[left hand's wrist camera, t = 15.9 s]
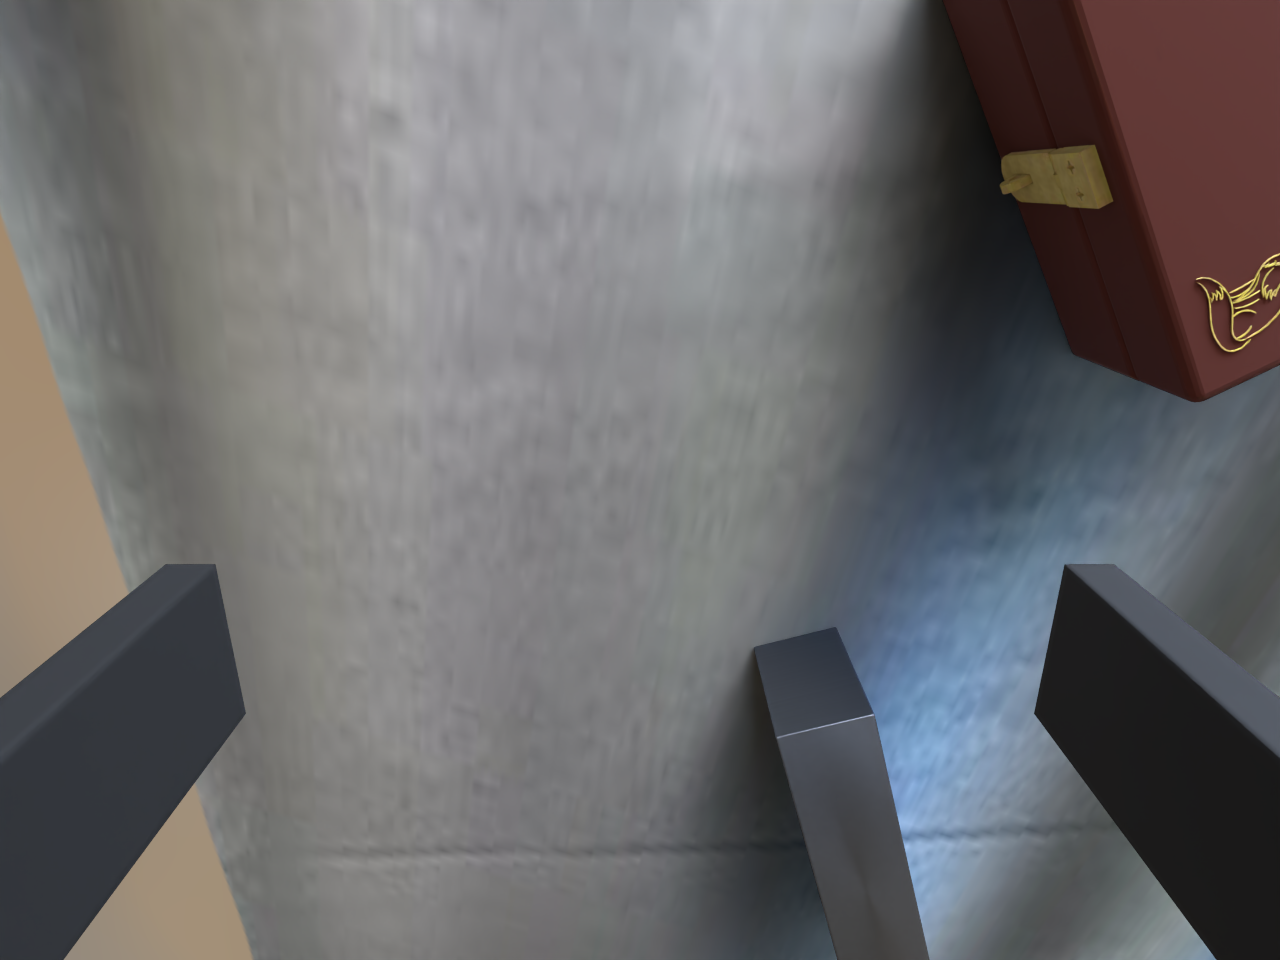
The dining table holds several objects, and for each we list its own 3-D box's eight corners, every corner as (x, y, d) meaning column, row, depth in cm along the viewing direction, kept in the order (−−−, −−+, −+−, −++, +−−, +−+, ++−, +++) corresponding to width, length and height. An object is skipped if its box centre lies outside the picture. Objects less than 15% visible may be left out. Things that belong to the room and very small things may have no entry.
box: (897, -26, 36) (987, -98, 27) (1263, -247, 34) (1505, -413, 24) (1049, 372, 43) (1164, 426, 33) (1368, 214, 40) (1591, 225, 31)
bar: (753, 646, 49) (775, 737, 41) (836, 626, 48) (874, 714, 40) (828, 917, 56) (859, 1039, 48) (900, 902, 56) (943, 1023, 48)
